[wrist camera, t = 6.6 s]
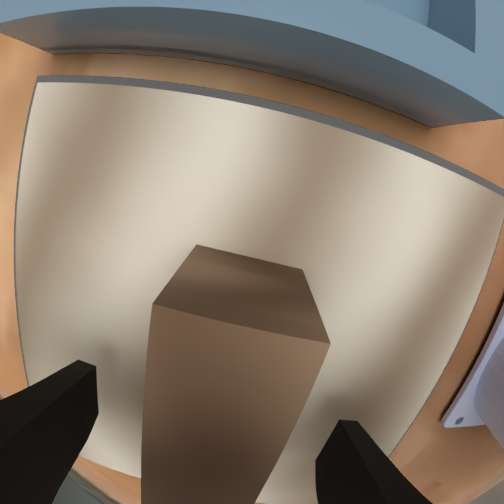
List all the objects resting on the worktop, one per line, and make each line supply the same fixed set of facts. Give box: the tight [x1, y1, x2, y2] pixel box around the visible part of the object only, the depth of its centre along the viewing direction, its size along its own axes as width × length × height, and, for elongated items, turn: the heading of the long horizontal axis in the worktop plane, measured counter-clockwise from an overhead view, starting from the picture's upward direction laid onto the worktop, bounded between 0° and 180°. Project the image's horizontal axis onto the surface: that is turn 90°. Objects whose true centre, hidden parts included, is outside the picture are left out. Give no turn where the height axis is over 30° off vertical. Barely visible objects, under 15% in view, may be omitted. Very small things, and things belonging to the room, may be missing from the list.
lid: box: [16, 82, 504, 504], centre depth 9 cm, size 16×16×5 cm
